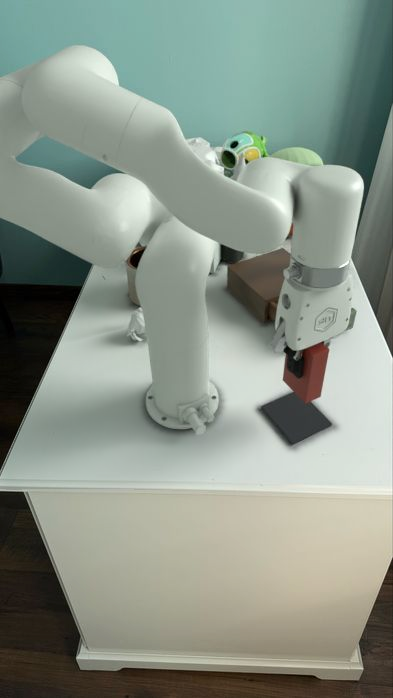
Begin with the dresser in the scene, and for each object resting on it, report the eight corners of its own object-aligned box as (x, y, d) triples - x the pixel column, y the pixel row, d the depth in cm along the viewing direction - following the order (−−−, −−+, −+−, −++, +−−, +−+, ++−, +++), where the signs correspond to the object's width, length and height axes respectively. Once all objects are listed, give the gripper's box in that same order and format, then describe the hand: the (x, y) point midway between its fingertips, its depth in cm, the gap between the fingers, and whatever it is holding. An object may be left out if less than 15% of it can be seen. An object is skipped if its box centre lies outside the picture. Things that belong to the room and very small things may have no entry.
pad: (331, 425, 84) (332, 423, 84) (292, 445, 81) (292, 442, 81) (298, 391, 90) (298, 389, 90) (260, 408, 87) (260, 406, 87)
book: (320, 396, 80) (329, 349, 73) (305, 404, 79) (312, 356, 72) (297, 373, 84) (303, 326, 77) (282, 379, 83) (287, 332, 76)
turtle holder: (279, 181, 157) (254, 191, 150) (236, 164, 166) (210, 172, 160) (286, 140, 149) (259, 149, 142) (240, 124, 158) (213, 131, 151)
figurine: (202, 325, 104) (196, 294, 102) (136, 347, 97) (129, 313, 95) (184, 321, 110) (179, 291, 108) (121, 341, 103) (114, 310, 101)
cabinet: (320, 302, 109) (324, 278, 105) (263, 324, 104) (265, 300, 100) (280, 270, 119) (282, 247, 115) (226, 289, 114) (227, 265, 110)
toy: (233, 170, 141) (249, 221, 140) (279, 132, 126) (296, 189, 125) (284, 171, 153) (299, 218, 152) (332, 136, 138) (348, 189, 137)
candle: (216, 257, 123) (226, 153, 107) (227, 249, 126) (238, 146, 110) (234, 264, 121) (247, 159, 105) (245, 256, 124) (259, 152, 108)
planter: (125, 287, 116) (119, 250, 109) (170, 277, 118) (168, 240, 112) (136, 314, 108) (131, 276, 102) (185, 303, 110) (183, 265, 104)
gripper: (283, 300, 61) (273, 404, 73) (387, 261, 66) (362, 364, 78) (249, 270, 66) (245, 372, 78) (348, 236, 71) (330, 337, 83)
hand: (304, 367), depth 78 cm, fingers closed on book, 3 cm apart
